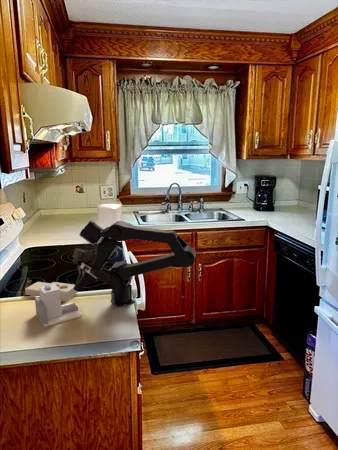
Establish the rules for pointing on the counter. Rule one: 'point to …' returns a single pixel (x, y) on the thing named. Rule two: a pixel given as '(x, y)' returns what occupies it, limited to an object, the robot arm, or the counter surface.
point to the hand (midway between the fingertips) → (74, 290)
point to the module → (51, 300)
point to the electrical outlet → (65, 289)
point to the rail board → (67, 313)
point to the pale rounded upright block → (108, 214)
